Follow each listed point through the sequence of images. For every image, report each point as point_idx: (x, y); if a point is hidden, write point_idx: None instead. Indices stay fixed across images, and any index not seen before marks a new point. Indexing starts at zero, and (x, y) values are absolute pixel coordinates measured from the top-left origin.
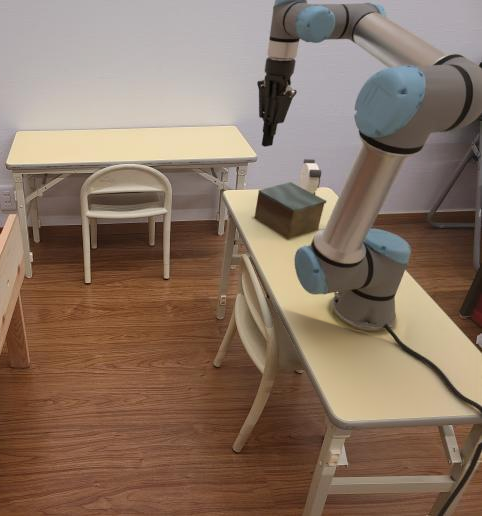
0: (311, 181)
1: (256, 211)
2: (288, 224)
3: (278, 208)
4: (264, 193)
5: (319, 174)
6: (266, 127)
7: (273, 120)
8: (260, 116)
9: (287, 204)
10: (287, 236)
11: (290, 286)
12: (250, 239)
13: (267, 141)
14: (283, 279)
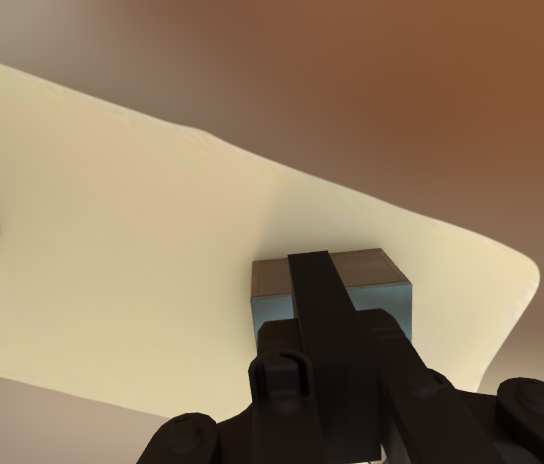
0: (382, 448)
1: (383, 256)
2: (259, 277)
3: None
4: (384, 286)
5: None
6: (328, 333)
7: (255, 442)
8: (521, 387)
9: (290, 306)
10: (255, 263)
11: (63, 137)
12: (289, 173)
13: (292, 287)
14: (95, 140)
